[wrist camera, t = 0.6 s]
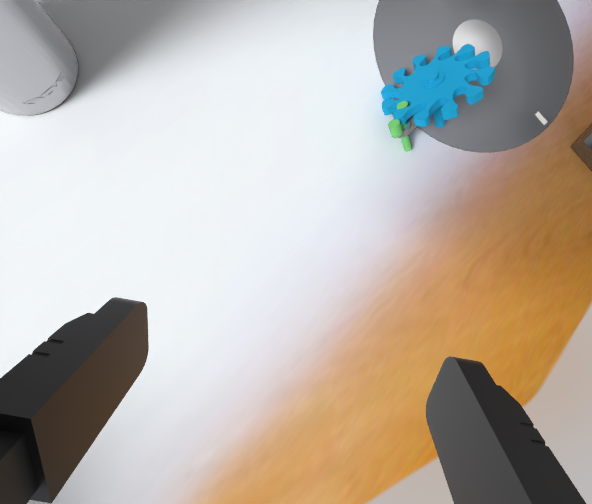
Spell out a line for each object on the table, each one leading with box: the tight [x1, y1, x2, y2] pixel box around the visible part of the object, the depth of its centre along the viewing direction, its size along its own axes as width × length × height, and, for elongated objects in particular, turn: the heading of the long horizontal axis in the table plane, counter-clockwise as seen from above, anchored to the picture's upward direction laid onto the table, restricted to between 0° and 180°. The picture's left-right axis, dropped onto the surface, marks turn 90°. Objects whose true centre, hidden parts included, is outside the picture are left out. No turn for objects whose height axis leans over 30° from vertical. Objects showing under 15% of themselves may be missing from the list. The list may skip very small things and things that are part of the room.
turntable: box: [373, 0, 574, 152], centre depth 37 cm, size 24×24×1 cm
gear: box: [381, 44, 495, 151], centre depth 33 cm, size 11×6×10 cm
